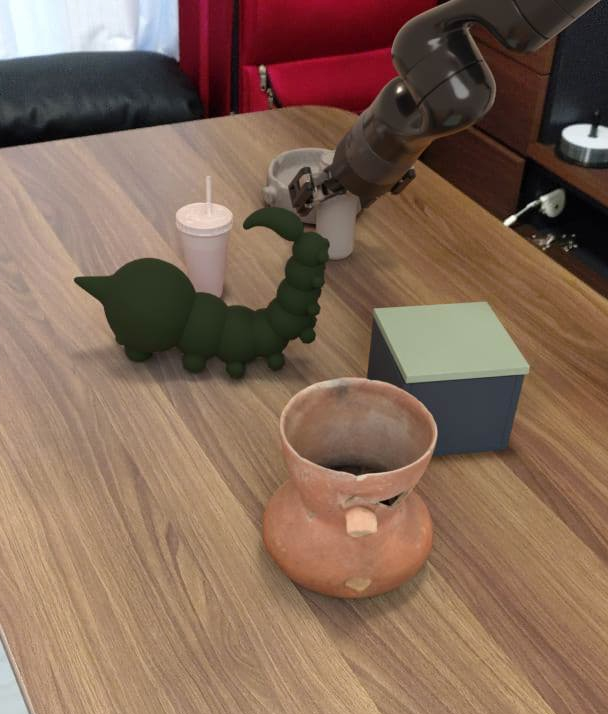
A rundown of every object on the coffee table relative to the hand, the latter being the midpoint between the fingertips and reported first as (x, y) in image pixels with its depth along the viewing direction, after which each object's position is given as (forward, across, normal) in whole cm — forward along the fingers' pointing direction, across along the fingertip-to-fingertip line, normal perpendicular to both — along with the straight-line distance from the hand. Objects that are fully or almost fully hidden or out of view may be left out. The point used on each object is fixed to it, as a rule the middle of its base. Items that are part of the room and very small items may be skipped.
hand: (332, 204), depth 119 cm
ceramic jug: (-32, -19, -40) cm, 55 cm away
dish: (+12, +2, +4) cm, 13 cm away
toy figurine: (-10, -22, -18) cm, 31 cm away
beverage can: (+3, 0, -5) cm, 6 cm away
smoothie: (0, -18, -9) cm, 20 cm away
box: (-22, -3, -30) cm, 37 cm away
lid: (-28, -3, -23) cm, 37 cm away
